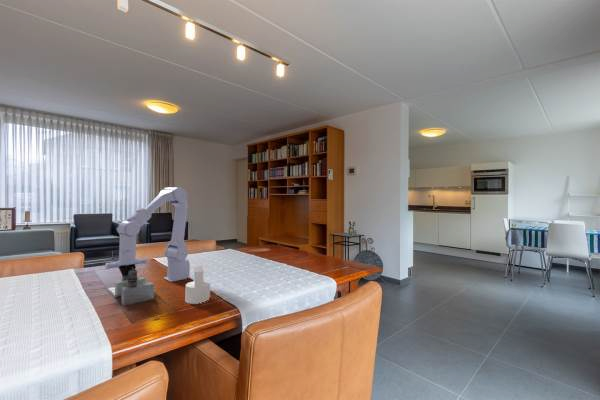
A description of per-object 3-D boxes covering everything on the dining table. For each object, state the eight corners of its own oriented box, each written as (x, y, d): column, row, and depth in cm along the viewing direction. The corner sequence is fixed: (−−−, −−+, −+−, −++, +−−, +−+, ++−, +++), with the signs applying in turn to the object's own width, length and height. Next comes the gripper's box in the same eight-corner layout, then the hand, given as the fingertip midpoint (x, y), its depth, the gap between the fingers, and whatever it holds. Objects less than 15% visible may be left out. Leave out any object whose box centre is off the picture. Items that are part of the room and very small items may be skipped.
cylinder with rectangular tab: (185, 296, 109) (186, 266, 109) (208, 294, 112) (209, 265, 112) (185, 305, 100) (186, 272, 100) (210, 302, 104) (211, 270, 104)
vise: (135, 285, 120) (135, 272, 120) (153, 298, 105) (154, 283, 105) (108, 290, 113) (108, 276, 113) (123, 305, 98) (124, 289, 98)
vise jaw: (141, 286, 115) (141, 273, 115) (145, 289, 111) (146, 275, 111) (112, 292, 108) (113, 277, 108) (116, 295, 104) (117, 280, 104)
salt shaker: (132, 301, 102) (133, 269, 102) (118, 300, 103) (119, 268, 103) (144, 296, 108) (145, 265, 108) (130, 295, 108) (131, 264, 108)
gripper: (143, 246, 120) (142, 277, 120) (104, 250, 110) (102, 284, 110) (149, 249, 115) (148, 281, 116) (108, 253, 105) (107, 289, 105)
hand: (126, 283), depth 112 cm, fingers closed, pressing on vise jaw
